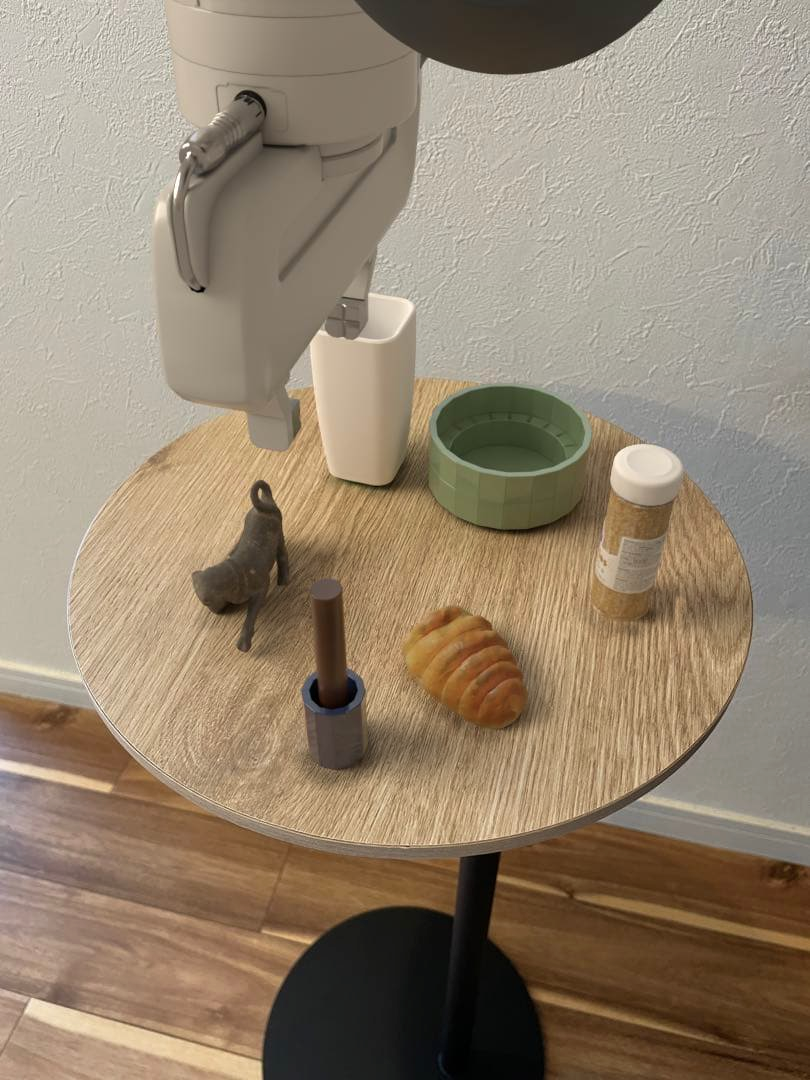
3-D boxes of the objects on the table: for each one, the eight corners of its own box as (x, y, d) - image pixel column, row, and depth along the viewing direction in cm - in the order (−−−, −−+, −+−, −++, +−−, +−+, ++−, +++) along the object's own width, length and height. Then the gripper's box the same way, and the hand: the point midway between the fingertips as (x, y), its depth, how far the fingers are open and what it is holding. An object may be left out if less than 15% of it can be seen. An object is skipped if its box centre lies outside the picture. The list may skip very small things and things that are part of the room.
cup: (394, 501, 81) (392, 345, 71) (313, 484, 83) (301, 329, 73) (420, 451, 86) (421, 300, 77) (343, 436, 88) (335, 286, 78)
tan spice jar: (586, 582, 74) (611, 439, 65) (646, 586, 74) (680, 443, 65) (589, 626, 71) (616, 481, 62) (652, 630, 70) (689, 485, 61)
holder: (374, 733, 63) (372, 673, 59) (356, 780, 61) (353, 721, 57) (319, 720, 64) (314, 660, 60) (299, 767, 61) (292, 707, 57)
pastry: (551, 706, 65) (557, 669, 63) (471, 754, 62) (474, 717, 60) (466, 622, 71) (468, 585, 68) (390, 663, 68) (389, 625, 65)
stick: (355, 736, 63) (346, 580, 53) (346, 758, 61) (336, 603, 52) (328, 730, 63) (315, 574, 54) (319, 752, 62) (304, 596, 52)
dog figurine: (238, 541, 77) (227, 468, 72) (307, 553, 76) (300, 479, 71) (177, 651, 69) (159, 575, 64) (253, 666, 68) (241, 590, 63)
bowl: (592, 452, 86) (601, 395, 82) (570, 548, 77) (579, 489, 73) (448, 429, 89) (450, 372, 85) (410, 518, 80) (410, 460, 76)
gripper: (270, 171, 27) (299, 541, 36) (447, -4, 42) (436, 291, 51) (67, 145, 28) (145, 509, 37) (309, -16, 43) (322, 274, 52)
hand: (314, 381), depth 44 cm, fingers open, 8 cm apart
